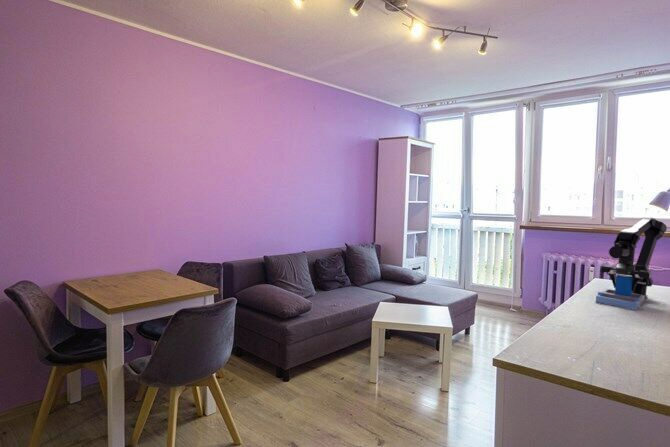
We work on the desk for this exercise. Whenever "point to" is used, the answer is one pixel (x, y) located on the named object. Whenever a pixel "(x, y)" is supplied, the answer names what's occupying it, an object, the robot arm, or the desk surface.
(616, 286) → the beverage can
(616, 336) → the desk surface
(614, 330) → the desk surface
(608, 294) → the slot holder
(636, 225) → the robot arm
